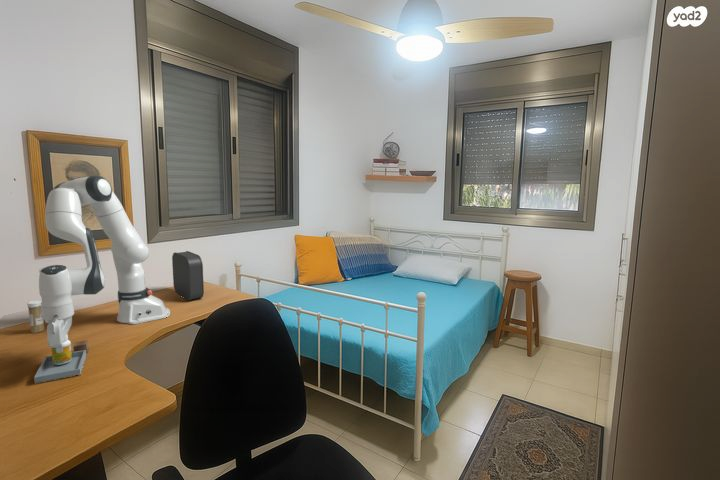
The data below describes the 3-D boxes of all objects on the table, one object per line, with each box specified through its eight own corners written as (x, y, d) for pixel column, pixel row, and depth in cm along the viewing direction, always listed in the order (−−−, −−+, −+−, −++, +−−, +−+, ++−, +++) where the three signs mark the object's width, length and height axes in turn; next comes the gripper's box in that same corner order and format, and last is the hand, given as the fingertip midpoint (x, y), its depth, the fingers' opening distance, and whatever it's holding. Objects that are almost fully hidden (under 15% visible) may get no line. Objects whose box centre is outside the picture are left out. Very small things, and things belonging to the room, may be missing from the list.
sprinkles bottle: (43, 332, 159) (40, 302, 157) (29, 334, 157) (26, 304, 155) (45, 328, 163) (42, 299, 161) (31, 330, 160) (28, 300, 158)
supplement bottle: (51, 366, 129) (48, 340, 128) (55, 359, 134) (52, 334, 133) (70, 363, 132) (68, 337, 130) (73, 356, 137) (71, 332, 135)
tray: (86, 355, 140) (85, 349, 139) (80, 375, 126) (79, 369, 126) (45, 362, 134) (45, 356, 133) (34, 384, 120) (34, 377, 120)
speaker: (173, 292, 218) (171, 251, 214) (188, 289, 224) (186, 249, 220) (191, 302, 201) (189, 258, 197) (206, 299, 207) (205, 256, 203)
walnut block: (88, 349, 145) (87, 340, 144) (87, 353, 141) (86, 344, 141) (75, 351, 143) (74, 342, 142) (74, 356, 139) (73, 346, 139)
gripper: (63, 320, 123) (67, 358, 125) (74, 301, 140) (77, 335, 142) (39, 323, 120) (43, 362, 122) (52, 304, 137) (56, 338, 139)
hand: (62, 348), depth 132 cm, fingers closed on supplement bottle, 5 cm apart
